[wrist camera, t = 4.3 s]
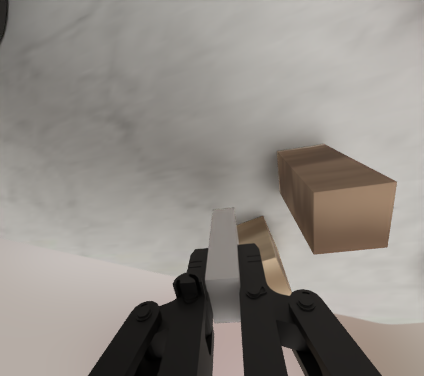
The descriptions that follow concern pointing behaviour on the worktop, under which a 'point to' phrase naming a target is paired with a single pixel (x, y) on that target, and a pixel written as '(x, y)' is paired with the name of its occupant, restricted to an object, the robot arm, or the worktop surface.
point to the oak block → (265, 253)
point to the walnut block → (336, 199)
